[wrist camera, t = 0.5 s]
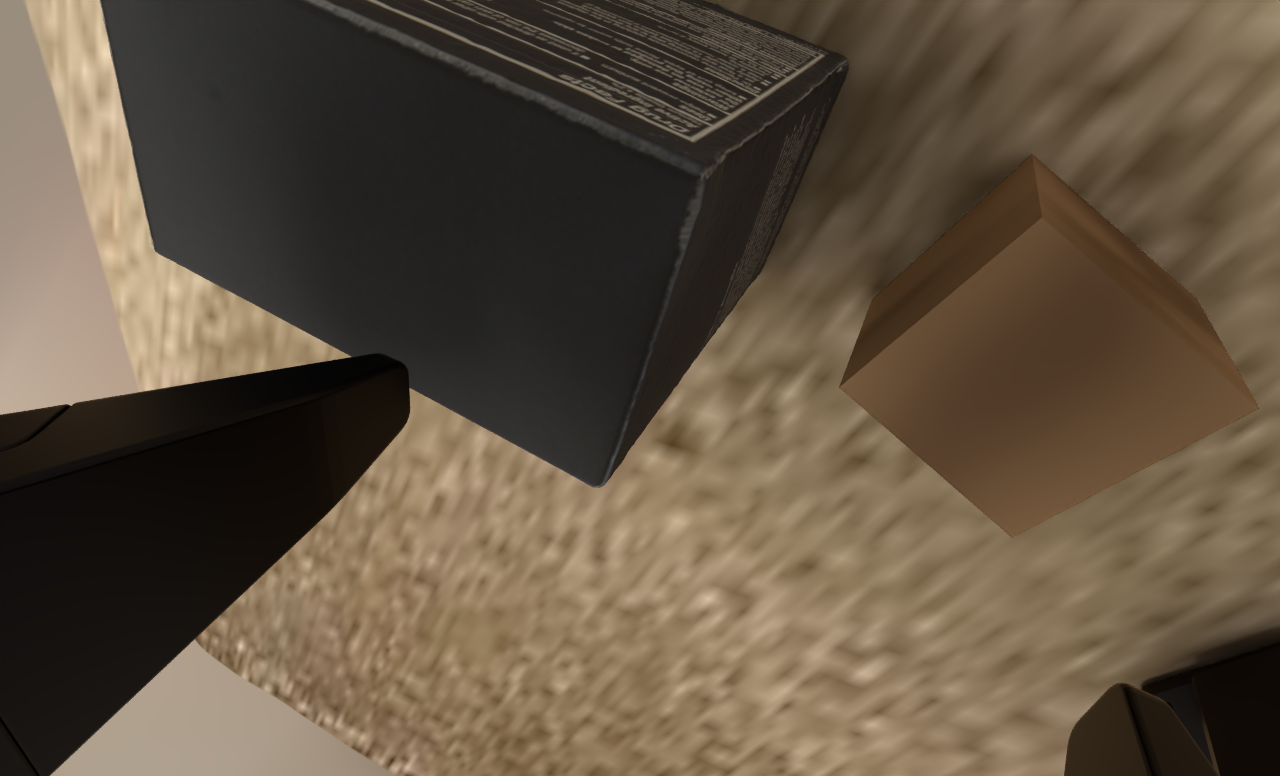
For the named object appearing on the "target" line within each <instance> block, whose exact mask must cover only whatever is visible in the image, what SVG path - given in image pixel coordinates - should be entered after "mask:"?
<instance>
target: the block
mask: <svg viewBox="0 0 1280 776" xmlns="http://www.w3.org/2000/svg"><path fill="white" fill-rule="evenodd" d="M839 388H841V389H842V390H843V391H844V392H845V393H846V394H847V395H849V396H850V397H851V398H852V399H853V400H854V401H855V402H857V403H858V404H859V405H860V406H861V407H862V408H864V409H865V410H866V411H867V412H868V413H869V414H870V415H872V416H873V417H874V418H875V419H876V420H877V421H878V422H880V423H881V424H882V425H883V426H884V427H885V428H887V429H888V430H889V431H890V432H891V433H892V434H893V435H895V436H896V437H897V438H898V439H899V440H900V441H901V442H903V443H904V444H905V445H906V446H907V447H908V448H909V449H911V450H912V451H913V452H914V453H915V454H916V455H918V456H919V457H920V458H921V459H922V460H923V461H924V462H926V463H927V464H928V465H929V466H930V467H931V468H932V469H934V470H935V471H936V472H937V473H938V474H939V475H941V476H942V477H943V478H944V479H945V480H946V481H947V482H949V483H950V484H951V485H952V486H953V487H954V488H955V489H957V490H958V491H959V492H960V493H961V494H962V495H963V496H965V497H966V498H967V499H968V500H969V501H970V502H972V503H973V504H974V505H975V506H976V507H977V508H978V509H980V510H981V511H982V512H983V513H984V514H985V515H986V516H988V517H989V518H990V519H991V520H992V521H993V522H995V523H996V524H997V525H998V526H999V527H1000V528H1001V529H1003V530H1004V531H1005V532H1006V533H1007V534H1008V535H1009V536H1011V537H1014V536H1016V535H1018V534H1020V533H1022V532H1023V531H1025V530H1027V529H1029V528H1031V527H1033V526H1035V525H1037V524H1039V523H1041V522H1043V521H1045V520H1046V519H1048V518H1050V517H1052V516H1054V515H1056V514H1058V513H1060V512H1062V511H1064V510H1066V509H1068V508H1069V507H1071V506H1073V505H1075V504H1077V503H1079V502H1081V501H1083V500H1085V499H1087V498H1089V497H1090V496H1092V495H1094V494H1096V493H1098V492H1100V491H1102V490H1104V489H1106V488H1108V487H1110V486H1112V485H1113V484H1115V483H1117V482H1119V481H1121V480H1123V479H1125V478H1127V477H1129V476H1131V475H1133V474H1135V473H1136V472H1138V471H1140V470H1142V469H1144V468H1146V467H1148V466H1150V465H1152V464H1154V463H1156V462H1157V461H1159V460H1161V459H1163V458H1165V457H1167V456H1169V455H1171V454H1173V453H1175V452H1177V451H1179V450H1180V449H1182V448H1184V447H1186V446H1188V445H1190V444H1192V443H1194V442H1196V441H1198V440H1200V439H1202V438H1203V437H1205V436H1207V435H1209V434H1211V433H1213V432H1215V431H1217V430H1219V429H1221V428H1223V427H1224V426H1226V425H1228V424H1230V423H1232V422H1234V421H1236V420H1238V419H1240V418H1242V417H1244V416H1246V415H1247V414H1249V413H1251V412H1253V411H1255V410H1257V409H1259V407H1258V405H1257V403H1256V401H1255V400H1254V398H1253V396H1252V394H1251V393H1250V391H1249V389H1248V387H1247V386H1246V384H1245V382H1244V381H1243V379H1242V377H1241V375H1240V374H1239V372H1238V370H1237V368H1236V367H1235V365H1234V363H1233V361H1232V360H1231V358H1230V356H1229V354H1228V353H1227V351H1226V349H1225V347H1224V346H1223V344H1222V342H1221V340H1220V339H1219V337H1218V335H1217V334H1216V332H1215V330H1214V328H1213V327H1212V325H1211V323H1210V321H1209V320H1208V318H1207V316H1206V314H1205V313H1204V311H1203V309H1202V307H1201V306H1200V304H1199V302H1198V300H1197V299H1196V298H1195V297H1194V296H1193V295H1192V294H1190V293H1189V292H1188V291H1187V290H1186V289H1185V288H1184V287H1182V286H1181V285H1180V284H1179V283H1178V282H1177V281H1176V280H1174V279H1173V278H1172V277H1171V276H1170V275H1169V274H1168V273H1167V272H1165V271H1164V270H1163V269H1162V268H1161V267H1160V266H1159V265H1157V264H1156V263H1155V262H1154V261H1153V260H1152V259H1151V258H1149V257H1148V256H1147V255H1146V254H1145V253H1144V252H1143V251H1142V250H1140V249H1139V248H1138V247H1137V246H1136V245H1135V244H1134V243H1132V242H1131V241H1130V240H1129V239H1128V238H1127V237H1126V236H1124V235H1123V234H1122V233H1121V232H1120V231H1119V230H1118V229H1116V228H1115V227H1114V226H1113V225H1112V224H1111V223H1110V222H1109V221H1107V220H1106V219H1105V218H1104V217H1103V216H1102V215H1101V214H1099V213H1098V212H1097V211H1096V210H1095V209H1094V208H1093V207H1091V206H1090V205H1089V204H1088V203H1087V202H1086V201H1085V200H1084V199H1082V198H1081V197H1080V196H1079V195H1078V194H1077V193H1076V192H1074V191H1073V190H1072V189H1071V188H1070V187H1069V186H1068V185H1066V184H1065V183H1064V182H1063V181H1062V180H1061V179H1060V178H1059V177H1057V176H1056V175H1055V174H1054V173H1053V172H1052V171H1051V170H1049V169H1048V168H1047V167H1046V166H1045V165H1044V164H1043V163H1041V162H1040V161H1039V160H1038V159H1037V158H1036V157H1035V156H1033V155H1031V156H1030V157H1029V158H1028V159H1026V160H1025V161H1024V162H1023V163H1022V164H1021V165H1020V166H1019V167H1018V168H1017V169H1015V170H1014V171H1013V172H1012V173H1011V174H1010V175H1009V176H1008V177H1007V178H1006V179H1004V180H1003V181H1002V182H1001V183H1000V184H999V185H998V186H997V187H996V188H995V189H994V190H992V191H991V192H990V193H989V194H988V195H987V196H986V197H985V198H984V199H983V200H981V201H980V202H979V203H978V204H977V205H976V206H975V207H974V208H973V209H972V210H970V211H969V212H968V213H967V214H966V215H965V216H964V217H963V218H962V219H961V220H960V221H958V222H957V223H956V224H955V225H954V226H953V227H952V228H951V229H950V230H949V231H947V232H946V233H945V234H944V235H943V236H942V237H941V238H940V239H939V240H938V241H937V242H935V243H934V244H933V245H932V246H931V247H930V248H929V249H928V250H927V251H926V252H924V253H923V254H922V255H921V256H920V257H919V258H918V259H917V260H916V261H915V262H913V263H912V264H911V265H910V266H909V267H908V268H907V269H906V270H905V271H904V272H903V273H901V274H900V275H899V276H898V277H897V278H896V279H895V280H894V281H893V282H892V283H890V284H889V285H888V286H887V287H886V288H885V289H884V290H883V291H882V292H881V293H880V294H878V295H877V296H876V297H875V298H874V299H873V300H872V302H871V304H870V307H869V310H868V312H867V315H866V318H865V320H864V323H863V326H862V328H861V331H860V333H859V336H858V339H857V341H856V344H855V347H854V349H853V352H852V355H851V357H850V360H849V363H848V365H847V368H846V371H845V373H844V376H843V378H842V381H841V384H840V386H839Z"/></svg>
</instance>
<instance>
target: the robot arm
mask: <svg viewBox="0 0 1280 776" xmlns="http://www.w3.org/2000/svg"><path fill="white" fill-rule="evenodd" d="M409 414H410V394H409V373H408V369H407V367H406V365H405V364H404V363H402V362H401V361H398V360H396V359H394V358H392V357H389V356H387V355H385V354H381V353H374V354H368V355H362V356H356V357H350V358H344V359H338V360H332V361H326V362H320V363H313V364H307V365H301V366H295V367H289V368H283V369H277V370H271V371H265V372H259V373H253V374H247V375H241V376H235V377H229V378H223V379H217V380H211V381H205V382H199V383H193V384H187V385H180V386H174V387H168V388H162V389H156V390H150V391H144V392H138V393H132V394H126V395H120V396H115V397H108V398H102V399H96V400H90V401H84V402H78V403H75V404H73V405H72V406H70V405H68V404H65V405H59V406H53V407H47V408H41V409H35V410H29V411H23V412H16V413H10V414H3V415H0V776H50V775H51V774H52V773H53V772H54V771H55V770H56V769H57V768H59V767H60V766H61V765H62V764H63V763H64V762H65V761H66V760H67V759H68V758H69V757H70V756H71V755H72V754H73V753H75V751H77V750H78V748H80V747H81V746H82V745H83V744H84V743H85V742H86V741H87V740H88V739H89V738H90V737H91V736H92V735H94V734H95V733H96V732H97V731H98V730H99V729H100V728H101V727H102V726H103V725H104V724H105V723H106V722H107V721H108V720H109V719H111V718H112V717H113V716H114V715H115V714H116V713H117V712H118V711H119V710H120V709H121V708H122V707H123V706H124V705H125V704H126V703H128V702H129V701H130V700H131V699H132V698H133V697H134V696H135V695H136V694H137V693H138V692H139V691H140V690H141V689H142V688H143V687H144V686H146V684H147V683H149V682H150V681H151V680H152V679H153V678H154V677H155V676H156V675H157V674H158V673H159V672H160V671H161V670H163V669H164V668H165V667H166V666H167V664H169V663H170V662H171V661H172V660H173V659H174V658H175V657H176V656H177V655H178V654H179V653H181V652H182V651H183V650H184V649H185V648H186V647H187V646H188V645H189V644H190V643H191V642H192V641H193V640H194V639H195V638H196V637H197V636H199V635H200V634H201V633H202V632H203V631H204V630H205V629H206V628H207V627H208V626H209V625H210V624H211V623H212V622H213V621H214V620H215V619H217V618H218V617H219V616H220V615H221V614H222V613H223V612H224V611H225V610H226V609H227V608H228V607H229V606H230V605H231V604H232V603H234V602H235V601H236V600H237V599H238V598H239V597H240V596H241V595H242V594H243V593H244V592H245V591H246V590H247V589H248V588H249V587H250V586H252V585H253V584H254V583H255V582H256V581H257V580H258V579H259V578H260V577H261V576H262V575H263V574H264V573H265V572H266V571H267V570H268V569H270V568H271V567H272V566H273V565H274V564H275V563H276V562H277V561H278V560H279V559H280V558H281V557H282V556H283V555H284V554H285V553H287V552H288V551H289V550H290V549H291V548H292V547H293V546H294V545H295V544H296V543H297V542H298V541H299V540H300V539H301V538H302V537H303V536H305V535H306V534H307V533H308V532H309V531H310V530H311V529H312V528H313V527H314V526H315V525H316V524H317V523H318V522H319V521H320V520H321V519H323V518H324V517H325V516H326V515H327V514H328V513H329V512H330V511H331V510H332V509H333V508H334V507H335V506H336V504H337V503H338V502H339V501H340V500H341V499H342V498H343V497H344V496H345V495H346V494H347V492H348V491H349V490H350V489H351V488H352V487H353V486H354V484H355V483H356V482H357V481H358V480H359V479H360V477H361V476H362V475H363V474H364V473H365V472H366V470H367V469H368V468H369V467H370V466H371V465H372V464H373V462H374V461H375V460H376V459H377V458H378V457H379V455H380V454H381V453H382V452H383V451H384V450H385V449H386V447H387V446H388V445H389V444H390V443H391V442H392V440H393V439H394V438H395V437H396V436H397V435H398V434H399V432H400V431H401V430H402V429H403V427H404V426H405V424H406V423H407V420H408V418H409ZM1064 776H1280V643H1277V644H1274V645H1271V646H1268V647H1265V648H1262V649H1259V650H1255V651H1252V652H1249V653H1246V654H1243V655H1240V656H1237V657H1233V658H1230V659H1227V660H1224V661H1221V662H1218V663H1215V664H1212V665H1208V666H1205V667H1202V668H1199V669H1196V670H1193V671H1190V672H1186V673H1183V674H1180V675H1177V676H1174V677H1171V678H1168V679H1165V680H1161V681H1158V682H1155V683H1152V684H1149V685H1147V686H1145V687H1143V688H1142V689H1138V688H1136V687H1134V686H1132V685H1129V684H1126V683H1117V684H1115V685H1113V686H1112V687H1110V688H1109V689H1108V690H1107V691H1106V692H1105V693H1104V694H1103V695H1102V696H1101V697H1100V699H1099V700H1098V701H1097V702H1096V703H1095V704H1094V705H1093V706H1092V707H1091V708H1090V709H1089V710H1088V711H1087V712H1086V713H1085V714H1084V715H1083V716H1082V717H1081V718H1080V720H1079V721H1078V722H1077V723H1076V724H1075V726H1074V728H1073V730H1072V732H1071V734H1070V738H1069V741H1068V747H1067V755H1066V763H1065V772H1064Z"/></svg>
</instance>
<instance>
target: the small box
mask: <svg viewBox="0 0 1280 776" xmlns="http://www.w3.org/2000/svg"><path fill="white" fill-rule="evenodd" d="M100 4H101V8H102V12H103V18H104V24H105V28H106V32H107V36H108V41H109V46H110V52H111V57H112V61H113V65H114V70H115V74H116V78H117V83H118V87H119V92H120V97H121V102H122V108H123V113H124V117H125V122H126V127H127V130H128V134H129V139H130V142H131V146H132V154H133V158H134V162H135V167H136V172H137V178H138V182H139V186H140V191H141V195H142V199H143V203H144V207H145V214H146V218H147V222H148V225H149V230H150V236H151V240H152V245H153V247H154V250H155V252H157V253H158V254H160V255H162V256H164V257H166V258H168V259H170V260H172V261H174V262H176V263H177V264H179V265H181V266H183V267H185V268H187V269H189V270H190V271H192V272H194V273H196V274H198V275H200V276H201V277H203V278H205V279H207V280H209V281H211V282H213V283H215V284H216V285H218V286H220V287H222V288H224V289H226V290H228V291H230V292H232V293H234V294H236V295H237V296H239V297H241V298H243V299H245V300H247V301H249V302H251V303H253V304H255V305H256V306H258V307H260V308H262V309H264V310H266V311H268V312H269V313H271V314H273V315H275V316H277V317H279V318H281V319H283V320H284V321H286V322H288V323H290V324H292V325H294V326H296V327H297V328H299V329H301V330H303V331H305V332H307V333H309V334H311V335H312V336H314V337H316V338H318V339H320V340H322V341H324V342H325V343H327V344H329V345H331V346H333V347H335V348H337V349H338V350H340V351H342V352H344V353H346V354H348V355H350V356H351V357H356V356H362V355H368V354H374V353H381V354H385V355H387V356H389V357H392V358H394V359H396V360H398V361H401V362H402V363H404V364H405V365H406V367H407V369H408V373H409V388H411V389H413V390H415V391H417V392H419V393H421V394H423V395H424V396H426V397H428V398H430V399H432V400H434V401H435V402H437V403H439V404H441V405H443V406H445V407H446V408H448V409H450V410H452V411H454V412H456V413H457V414H459V415H461V416H463V417H465V418H467V419H469V420H470V421H472V422H474V423H476V424H478V425H480V426H482V427H483V428H485V429H487V430H489V431H491V432H493V433H495V434H497V435H498V436H500V437H502V438H504V439H506V440H508V441H510V442H511V443H513V444H515V445H517V446H519V447H520V448H522V449H524V450H526V451H528V452H529V453H531V454H533V455H535V456H537V457H539V458H540V459H542V460H544V461H546V462H548V463H550V464H552V465H554V466H556V467H557V468H559V469H561V470H563V471H565V472H567V473H569V474H570V475H572V476H574V477H576V478H577V479H579V480H581V481H583V482H584V483H586V484H588V485H590V486H591V487H595V488H600V487H602V486H604V485H605V484H606V483H607V481H608V480H609V479H610V478H611V476H612V475H613V473H614V471H615V470H616V469H617V468H618V466H619V465H620V464H621V463H622V461H623V460H624V458H625V456H626V454H627V453H628V451H629V450H630V448H631V447H632V446H633V445H634V443H635V442H636V440H637V439H638V438H639V436H640V435H641V434H642V432H643V431H644V429H645V428H646V426H647V425H648V424H649V422H650V421H651V419H652V418H653V417H654V415H655V414H656V413H657V411H658V410H659V409H660V407H661V406H662V405H663V403H664V402H665V401H666V399H667V398H668V397H669V396H670V394H671V393H672V391H673V389H674V388H675V387H676V386H677V385H678V383H679V382H680V380H681V378H682V377H683V375H684V374H685V373H686V371H687V370H688V369H689V368H690V366H691V364H692V363H693V362H694V360H695V359H696V358H697V356H698V355H699V354H700V352H701V351H702V350H703V348H704V347H705V346H706V344H707V343H708V341H709V340H710V339H711V337H712V336H713V335H714V334H715V333H716V331H717V329H718V328H719V327H720V326H721V324H722V323H723V321H724V320H725V318H726V317H727V316H728V315H729V313H730V312H731V311H732V310H733V308H734V307H735V305H736V304H737V302H738V301H739V299H740V298H741V297H742V296H743V294H744V293H745V291H746V290H747V288H748V287H749V286H750V284H751V283H752V282H753V281H754V280H755V279H756V278H757V276H758V275H759V274H760V272H761V270H762V268H763V267H764V264H765V262H766V259H767V257H768V255H769V253H770V250H771V248H772V246H773V244H774V242H775V239H776V237H777V235H778V233H779V231H780V229H781V227H782V223H783V221H784V218H785V216H786V214H787V212H788V210H789V207H790V205H791V203H792V201H793V198H794V196H795V193H796V191H797V189H798V186H799V184H800V182H801V179H802V177H803V175H804V173H805V170H806V168H807V165H808V163H809V161H810V159H811V157H812V154H813V151H814V149H815V147H816V145H817V142H818V140H819V137H820V135H821V133H822V131H823V129H824V127H825V124H826V122H827V119H828V117H829V115H830V112H831V110H832V108H833V105H834V103H835V101H836V98H837V96H838V94H839V91H840V89H841V87H842V85H843V83H844V80H845V78H846V75H847V72H848V63H847V59H846V58H845V57H844V56H842V55H840V54H838V53H834V52H831V51H828V50H826V49H824V48H821V47H818V46H816V45H814V44H812V43H809V42H807V41H805V40H802V39H800V38H797V37H795V36H793V35H790V34H787V33H785V32H782V31H779V30H776V29H774V28H772V27H769V26H766V25H763V24H761V23H759V22H756V21H753V20H751V19H748V18H745V17H743V16H740V15H738V14H735V13H733V12H731V11H728V10H725V9H724V8H722V7H721V6H719V5H718V4H711V3H707V2H705V1H703V0H100Z"/></svg>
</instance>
